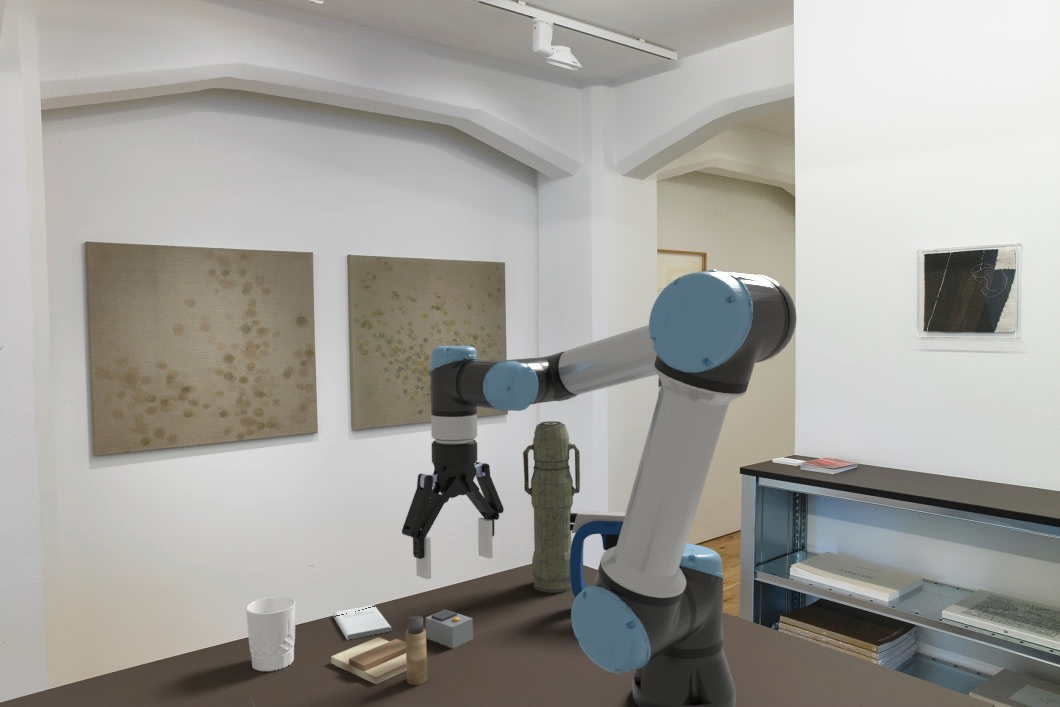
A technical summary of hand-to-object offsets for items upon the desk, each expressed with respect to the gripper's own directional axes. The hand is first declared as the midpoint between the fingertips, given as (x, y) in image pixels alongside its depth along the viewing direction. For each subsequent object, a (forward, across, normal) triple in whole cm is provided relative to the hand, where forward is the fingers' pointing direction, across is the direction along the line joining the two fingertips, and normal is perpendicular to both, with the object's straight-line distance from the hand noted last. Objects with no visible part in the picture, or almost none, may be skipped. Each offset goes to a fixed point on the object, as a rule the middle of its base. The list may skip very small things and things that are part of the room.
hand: (455, 566), depth 129 cm
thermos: (+17, -38, -12) cm, 43 cm away
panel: (+16, +9, -10) cm, 21 cm away
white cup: (+17, +21, -23) cm, 35 cm away
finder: (+17, -5, -8) cm, 19 cm away
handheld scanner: (+16, -35, +6) cm, 39 cm away
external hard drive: (+18, +1, -26) cm, 31 cm away
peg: (+16, +8, 0) cm, 18 cm away
